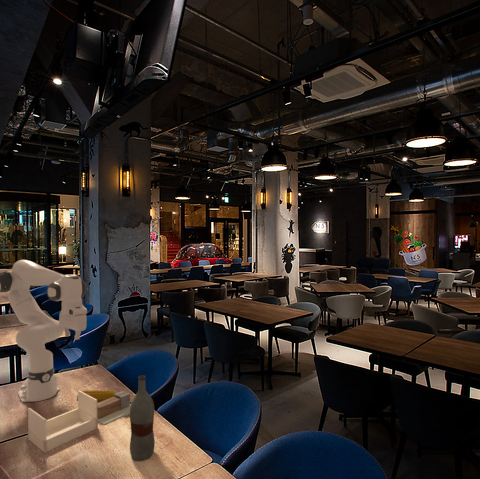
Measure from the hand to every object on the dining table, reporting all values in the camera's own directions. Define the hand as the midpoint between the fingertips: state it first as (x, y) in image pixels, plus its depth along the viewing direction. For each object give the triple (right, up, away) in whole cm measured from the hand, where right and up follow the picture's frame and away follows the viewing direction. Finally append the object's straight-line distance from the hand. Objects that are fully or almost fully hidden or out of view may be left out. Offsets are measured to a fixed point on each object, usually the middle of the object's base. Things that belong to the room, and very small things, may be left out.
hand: (72, 337), depth 162 cm
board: (+19, -37, +2) cm, 41 cm away
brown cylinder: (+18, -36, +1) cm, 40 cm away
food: (+7, -38, +14) cm, 41 cm away
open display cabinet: (+4, -37, -16) cm, 41 cm away
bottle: (+42, -37, -31) cm, 64 cm away
